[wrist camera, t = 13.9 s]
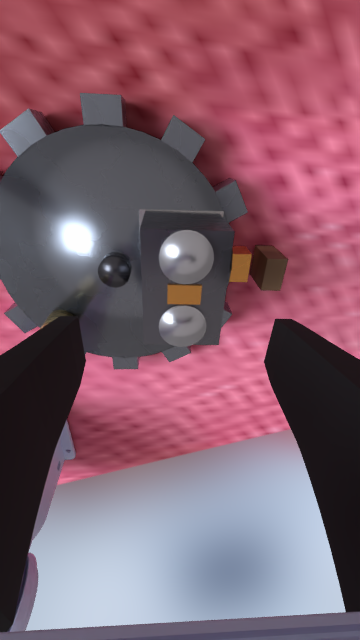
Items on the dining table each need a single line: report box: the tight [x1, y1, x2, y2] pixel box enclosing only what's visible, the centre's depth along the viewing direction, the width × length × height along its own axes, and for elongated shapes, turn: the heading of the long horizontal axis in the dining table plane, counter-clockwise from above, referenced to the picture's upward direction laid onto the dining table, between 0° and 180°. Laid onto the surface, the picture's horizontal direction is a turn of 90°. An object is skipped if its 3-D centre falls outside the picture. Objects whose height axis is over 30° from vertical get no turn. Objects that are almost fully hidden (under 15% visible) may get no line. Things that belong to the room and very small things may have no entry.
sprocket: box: [0, 93, 252, 369], centre depth 16 cm, size 16×16×4 cm
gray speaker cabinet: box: [140, 210, 235, 347], centre depth 15 cm, size 6×4×4 cm, turn 178°
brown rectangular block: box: [250, 245, 288, 291], centre depth 18 cm, size 2×1×3 cm, turn 178°
